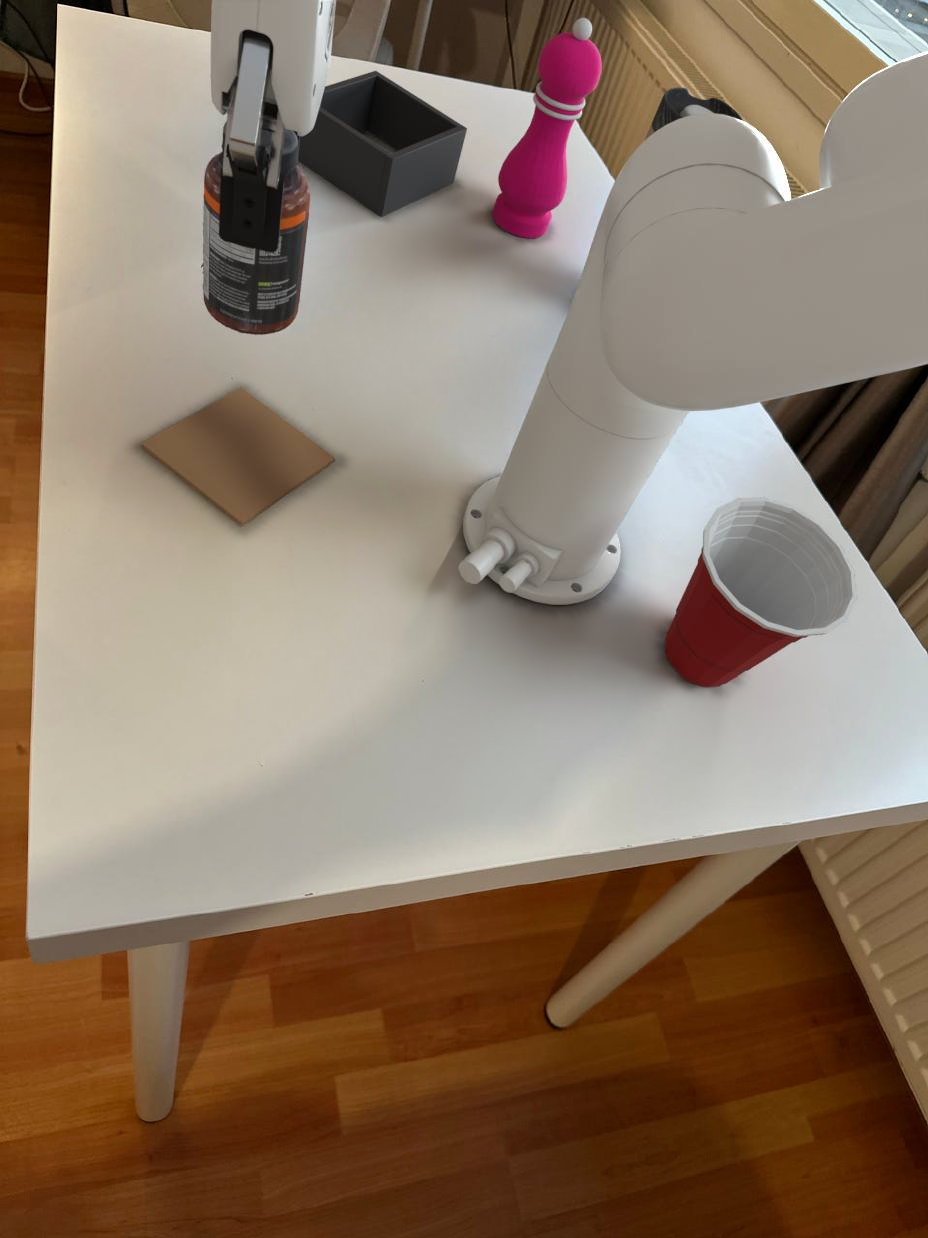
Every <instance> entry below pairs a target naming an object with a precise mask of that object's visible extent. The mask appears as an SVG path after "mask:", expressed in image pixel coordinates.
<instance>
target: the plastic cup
mask: <svg viewBox="0 0 928 1238" xmlns="http://www.w3.org/2000/svg"><path fill="white" fill-rule="evenodd" d="M857 600H858V590H857V577H856V570H855V569H854V567H853V564H852V563H851V561H850V559H849V557H848V554H847V553H846V551H845V549H844V547H843V545H842V544H841V543H840V542H839V540H837V539H836V537H834V535H833V534H832V533H831V532H830V531H829V530H828V529H827V528H826V527H825V526H824V525H823V524H822V523H821V521H819V520H817V519H815V518H814V517H812V516H811V515H809V514H808V513H806V512H804V511H803V510H801V509H799V508H798V507H796V506H794V505H793V504H789V503H786V502H782V501H779V500H776V499H773V498H769V497H765V496H760V497H759V496H754V497H736V498H735V499H733V500H731V501H728V502H727V503H725V504H723V505H720V506H718V507H717V508H716V509H715V511H714V512H713V514H712V515H711V517H710V518H709V520H708V521H707V523H706V525H705V526H704V528H703V532H702V547H701V551H700V555H699V557H698V559H697V564H696V565H695V568H694V570H693V572H692V574H691V577H690V579H689V581H688V583H687V585H686V588H685V590H684V591H683V594H682V596H681V598H680V600H679V603H678V605H677V607H676V609H675V614H674V617H673V618H672V621H671V623H670V625H669V626H668V629H667V631H666V636H665V639H664V652H665V655H666V657H667V659H668V662H669V664H670V665H671V667H673V669H674V670H675V671H676V672H677V673H678V675H680V676H681V677H683V678H684V679H685V680H687V681H689V683H692V684H694V685H697V686H701V687H704V688H715V687H721V686H722V685H726V684H728V683H729V682H731V681H733V680H734V679H736V678H738V677H739V676H741V675H742V674H743V673H745V672H748V671H750V670H752V669H753V668H755V667H756V666H758V665H759V664H761V663H762V662H764V661H765V660H767V659H768V658H771V657H772V656H773V655H775V654H777V653H778V652H780V651H782V650H783V649H785V648H786V647H788V646H790V645H791V644H792V643H793V644H794V643H797V642H799V641H800V640H801V639H806V638H807V637H811V636H822V635H823V636H824V635H826V634H828V633H830V632H831V631H833V630H834V629H836V628H837V627H839V626H840V625H842V624H844V623H846V622H847V621H848V620H849V618H850V616H851V614H852V611H853V609H854V607H855V605H856V603H857Z"/></svg>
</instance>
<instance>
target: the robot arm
mask: <svg viewBox="0 0 928 1238" xmlns="http://www.w3.org/2000/svg"><path fill="white" fill-rule="evenodd" d="M336 7H337V0H211V11H210V14H211V15H210V18H211V19H210V93H211V101H212V104H213V106H214V107H215V109H216V111H218V113H219V114H221V115H222V116H225V115H226V121H227V125H226V136H225V147H224V158H223V165H222V168H221V181H220V212H219V236H220V238H221V239H222V240H224V241H226V242H230V243H234V244H238V245H242V246H247V247H251V248H255V249H259V250H263V251H267V252H275V251H276V250H277V248H278V244H279V237H280V226H281V216H282V205H283V194H284V183H285V181H284V180H280V179H279V176H280V168H281V160H282V152H283V144H284V136H285V130H286V129H288V130H292V131H293V132H294V133H295V134H296V136H297V138H298V153H297V158H298V154H299V145H300V136H304V135H306V134H308V133H309V132H310V131H311V130H312V129H313V127H314V125H315V121H316V118H317V115H318V111H319V107H320V104H321V100H322V96H323V93H324V89H325V86H327V85H326V84H327V81H328V76H329V71H330V67H331V59H332V49H333V37H334V28H335V27H334V25H335V17H336ZM261 129H263V130H267V131H270V132H272V138H271V147H270V155H269V154H268V150H267V147H266V146H262V145H261ZM644 140H645V139H644ZM644 140H643V142H641V143H640V145H638V146H637V148H636V149H635V150H634V151H633V152H632V153H631V154H630V156H629V157H628V159H627V160H626V162H625V163H624V165H623V166H622V168H621V170H620V171H619V173H618V175H617V176H616V178H615V180H614V182H613V184H612V187H611V189H610V191H609V193H608V197H607V198H606V201H605V203H604V207H603V210H602V212H601V214H600V218H599V221H598V223H597V226H596V230H595V233H594V236H593V239H592V242H591V244H590V248H589V251H588V253H587V257H586V261H585V263H584V266H583V269H582V272H581V275H580V278H579V280H578V283H577V286H576V289H575V292H574V294H573V297H572V300H571V303H570V305H569V308H568V310H567V313H566V315H565V318H564V321H563V324H562V326H561V328H560V331H559V333H558V335H557V338H556V341H555V343H554V345H553V349H552V350H551V353H550V355H549V358H548V360H547V363H546V364H545V366H544V367H545V368H544V370H543V373H542V375H541V377H540V380H539V383H538V385H537V387H536V390H535V392H534V394H533V396H532V399H531V402H530V404H529V407H528V409H527V412H526V414H525V417H524V419H523V421H522V424H521V426H520V429H519V431H518V434H517V436H516V439H515V442H514V443H513V445H512V446H513V447H512V449H511V451H510V453H509V456H508V458H507V461H506V463H505V466H504V468H503V470H502V473H501V475H498V476H495V477H492V478H491V479H489V480H486V481H485V482H484V483H482V484H481V485H479V487H478V488H477V489H475V491H474V492H473V494H472V496H471V497H470V498H469V500H468V503H467V506H466V508H465V510H464V513H463V520H462V533H463V534H462V535H463V537H464V542H465V545H466V547H467V549H468V551H469V554H468V555H467V556H466V557H465V558H463V560H461V561H460V562H459V564H458V567H457V568H458V573H459V574H460V576H461V578H462V579H463V580H464V581H465V582H466V583H469V584H471V585H478V584H479V583H480V582H481V581H482V580H483V579H484V578H485V577H486V576H488V577H489V578H490V579H491V580H492V581H493V582H494V583H496V584H497V585H499V586H500V588H501V589H502V590H503V592H506V593H509V594H514V595H516V596H518V597H520V598H523V599H526V600H529V601H532V602H535V603H540V604H546V605H551V606H552V605H553V606H554V605H555V606H556V605H560V606H563V605H564V606H568V605H573V604H578V603H579V604H580V603H581V602H582V603H583V602H585V601H589V600H590V599H593V598H594V597H596V596H597V595H599V594H600V593H601V592H603V591H604V589H606V587H607V586H608V585H609V584H610V583H611V581H612V579H613V578H614V576H615V574H616V573H617V571H618V568H619V565H620V562H621V552H622V551H621V544H620V538H619V536H618V530H619V528H620V527H621V525H622V523H623V521H624V520H625V518H626V517H627V515H628V513H629V512H630V510H631V508H632V507H633V505H634V503H635V502H636V500H637V498H638V496H639V495H640V493H641V492H642V490H643V488H644V486H645V485H646V483H647V482H648V480H649V478H650V477H651V475H652V473H653V471H654V470H655V469H656V467H657V465H658V463H659V462H660V460H661V458H662V456H663V455H664V454H665V451H666V450H667V448H668V447H669V445H670V444H671V441H672V440H673V439H674V437H675V435H676V433H677V431H678V430H679V428H680V427H681V426H682V425H683V423H684V421H685V419H686V418H687V417H688V414H689V413H690V412H703V411H706V412H707V411H708V412H709V411H717V410H724V409H725V410H726V409H732V408H738V407H744V406H748V405H753V404H757V403H762V402H768V401H771V400H777V399H782V398H786V397H790V396H794V395H798V394H799V395H800V394H804V393H807V392H811V391H812V392H813V391H817V390H821V389H826V388H830V387H834V386H838V385H839V386H840V385H843V384H848V383H852V382H856V381H862V380H865V379H870V378H875V377H879V376H883V375H887V374H892V373H896V372H901V371H905V370H909V369H914V368H918V367H921V366H925V365H928V50H927V51H924V52H921V53H918V54H915V55H913V56H910V57H907V58H905V59H902V60H900V61H898V62H896V63H893V64H891V65H889V66H887V67H885V68H883V69H881V70H879V71H877V72H875V73H873V74H872V75H870V76H869V77H867V78H866V79H864V80H863V81H861V82H860V83H859V84H858V85H857V86H855V88H853V89H852V90H851V91H850V92H849V93H848V94H847V96H846V97H844V99H843V100H842V101H841V102H840V104H839V105H838V106H837V107H836V109H835V110H834V111H833V114H832V115H831V117H830V119H829V120H828V123H827V125H826V127H825V131H824V134H823V137H822V140H821V143H820V148H819V154H818V185H819V189H818V190H815V191H812V192H809V193H806V194H803V195H800V196H797V197H794V198H792V197H791V196H792V195H791V190H790V185H789V183H788V178H787V175H786V174H787V173H786V172H785V169H784V166H783V164H782V162H781V159H780V158H779V156H778V154H777V152H776V151H775V149H774V147H773V146H772V144H771V143H770V142H769V141H768V140H767V138H766V137H765V136H764V135H763V134H762V133H761V132H760V131H758V130H757V128H755V127H754V126H753V125H750V124H749V123H747V122H745V121H744V120H743V121H741V120H739V119H736V118H734V117H730V116H727V115H723V114H714V113H707V114H696V115H691V116H687V117H684V118H681V119H678V120H676V121H673V122H671V123H669V124H667V125H665V126H664V127H662V128H661V129H659V130H657V131H656V132H654V133H653V134H652V135H651V136H649V137H648V138H647V139H646V140H645V141H644ZM298 163H299V162H298V161H297V165H296V166H297V167H298Z"/></svg>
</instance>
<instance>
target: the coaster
mask: <svg viewBox="0 0 928 1238" xmlns="http://www.w3.org/2000/svg"><path fill="white" fill-rule="evenodd" d="M140 446H141V449H143V450H144V451H145V452H146V453H148V454H149V455H151V456H152V457H153V458H155V459H156V460H157V461H158V462H160V463H161V464H162V465H163V466H164V467H166V468H167V469H168V470H170V471H171V472H172V473H174V474H175V475H176V477H177V476H178V478H180V479H181V480H182V481H184V483H186V484H187V485H189V486H190V487H191V488H192V489H194V490H195V491H196V492H198V494H200V495H201V496H203V497H204V498H205V499H206V500H208V501H209V502H210V503H211V504H213V505H214V506H215V507H217V508H218V509H219V510H220V511H221V512H223V513H224V514H225V515H227V516H228V518H230V519H232V520H233V521H235V522H236V523H237V524H238V525H239V526H241V527H243V526H244V525H246V524H247V523H249V522H250V521H252V520H253V519H254V518H256V517H257V516H259V515H260V514H262V513H263V512H265V511H266V510H268V509H269V508H270V507H271V506H274V504H276V503H278V502H279V501H280V500H282V499H283V498H285V497H287V496H288V495H289V494H290V493H292V492H293V491H295V490H296V489H298V488H299V487H301V486H302V485H303V484H304V483H306V482H308V481H309V480H311V479H312V478H313V477H315V476H316V475H318V474H319V473H320V472H322V471H323V470H324V469H326V468H328V467H329V466H331V465H332V464H333V463H335V462H336V457H335V456H334V455H333V454H331V453H330V452H328V451H327V450H326V449H324V448H323V447H322V446H320V445H319V444H317V442H315V441H313V439H311V438H310V437H308V436H307V435H306V434H304V433H303V432H302V431H300V430H299V429H298V428H296V427H295V426H293V425H292V424H291V423H290V422H288V421H287V420H286V419H284V418H283V417H281V416H280V415H279V414H277V413H276V412H275V411H274V410H272V409H271V408H269V406H267V405H266V404H265V403H263V402H262V401H261V400H259V399H257V397H255V396H254V395H252V394H251V393H250V392H248V391H247V390H245V388H243V387H242V386H240V387H238V388H236V389H235V390H233V391H231V392H229V393H228V394H226V395H224V396H223V397H220V398H219V399H217V400H215V401H214V402H212V403H210V404H208V405H206V406H205V407H203V408H201V409H199V410H198V411H196V412H194V413H192V414H190V415H189V416H187V417H185V418H183V419H182V420H180V421H179V422H177V423H175V424H173V425H171V426H169V427H168V428H166V429H164V430H163V431H161V432H159V433H157V434H156V435H153V436H152V437H150V438H148V439H146V440H145V441H143V442H142V443H141V445H140Z"/></svg>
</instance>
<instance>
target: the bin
mask: <svg viewBox="0 0 928 1238" xmlns="http://www.w3.org/2000/svg"><path fill="white" fill-rule="evenodd" d="M467 131H468V128H467V127H466V126H464V125H462V124H461V123H459V122H458V121H456V120H455V119H453V118H452V117H450V116H449V115H447V114H445V113H443V112H442V111H440V110H439V109H437V108H436V107H434V106H433V105H431V104H429V102H427V101H425V100H423V99H422V98H420V97H418V96H417V95H415V94H413V93H412V92H410V91H409V90H408V89H405V88H404V87H403V86H401V85H399V84H398V83H396V82H394V81H393V80H392V79H390V78H388V77H387V76H386V75H383V74H381V73H380V72H379V71H377V70H374V71H370V72H367V73H364V74H361V75H358V76H354V77H351V78H348V79H344V80H341V81H338V82H335V83H332V84H329V85H325V89H324V93H323V96H322V100H321V104H320V107H319V111H318V115H317V118H316V121H315V125H314V127H313V129H312V130H311V131H310V132H309V133H308V134H306V135H304V136H300V145H299V154H298V161H299V162H300V163H301V164H303V165H304V166H306V167H307V168H309V169H310V170H312V171H313V172H315V173H316V174H318V175H319V176H321V177H322V178H323V179H325V180H326V181H328V182H329V183H331V184H333V185H334V186H336V187H337V188H338V189H340V190H341V191H343V192H344V193H346V194H347V195H349V196H350V197H352V198H353V199H355V200H356V201H358V202H359V203H360V204H362V205H364V206H365V207H367V208H368V209H369V210H371V211H372V212H375V214H377V215H379V216H380V217H382V218H383V217H385V216H387V215H389V214H391V213H393V212H395V211H397V210H399V209H402V208H404V207H405V206H408V205H410V204H412V203H415V202H417V201H418V200H420V199H423V198H425V197H428V196H429V195H432V194H433V193H436V192H438V191H439V190H442V189H444V188H446V187H448V186H451V185H453V184H454V183H455V178H456V176H457V171H458V166H459V163H460V158H461V156H462V155H461V154H462V151H463V147H464V143H465V140H466V135H467ZM365 133H369V134H371V135H373V136H374V137H375V138H376V139H378V140H380V141H381V142H383V143H385V144H386V145H388V146H389V147H391V148H392V149H394V150H395V151H394V152H391V151H388V150H387V149H385V148H384V147H382V146H380V145H379V144H378V143H376V142H375V141H373V140H371V138H368V137H367V136H365V135H364V134H365Z"/></svg>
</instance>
